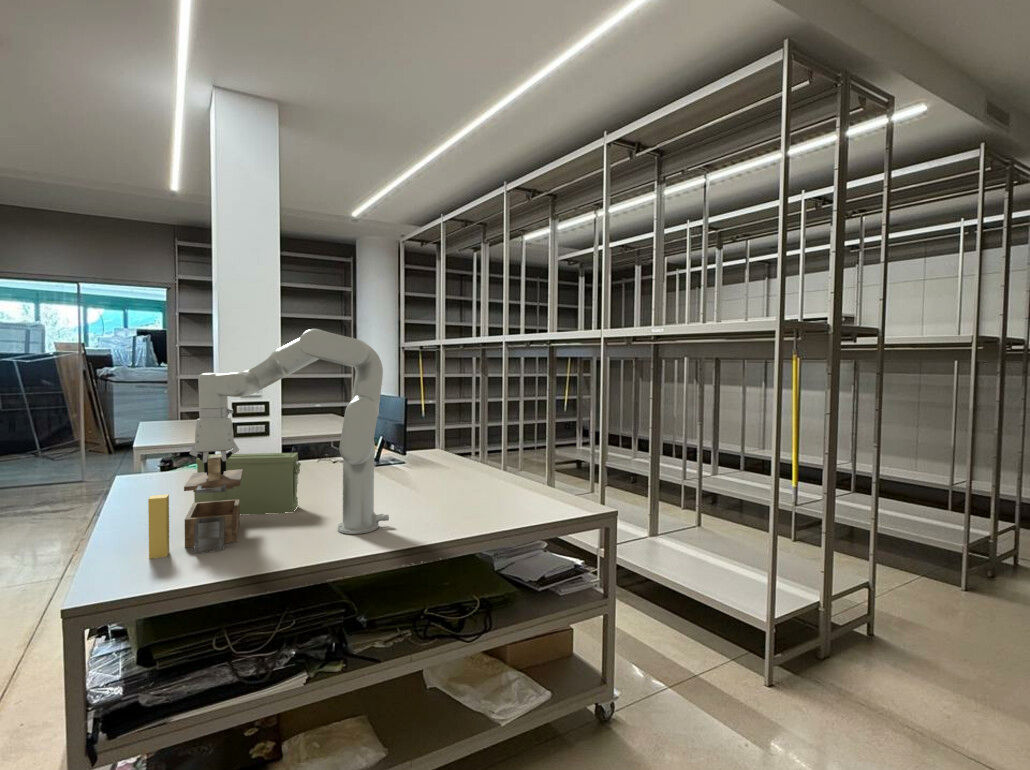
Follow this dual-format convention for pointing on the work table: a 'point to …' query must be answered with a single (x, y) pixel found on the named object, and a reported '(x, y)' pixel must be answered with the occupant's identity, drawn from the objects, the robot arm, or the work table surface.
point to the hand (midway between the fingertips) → (215, 473)
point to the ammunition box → (260, 482)
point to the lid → (214, 478)
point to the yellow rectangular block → (158, 526)
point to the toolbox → (212, 525)
